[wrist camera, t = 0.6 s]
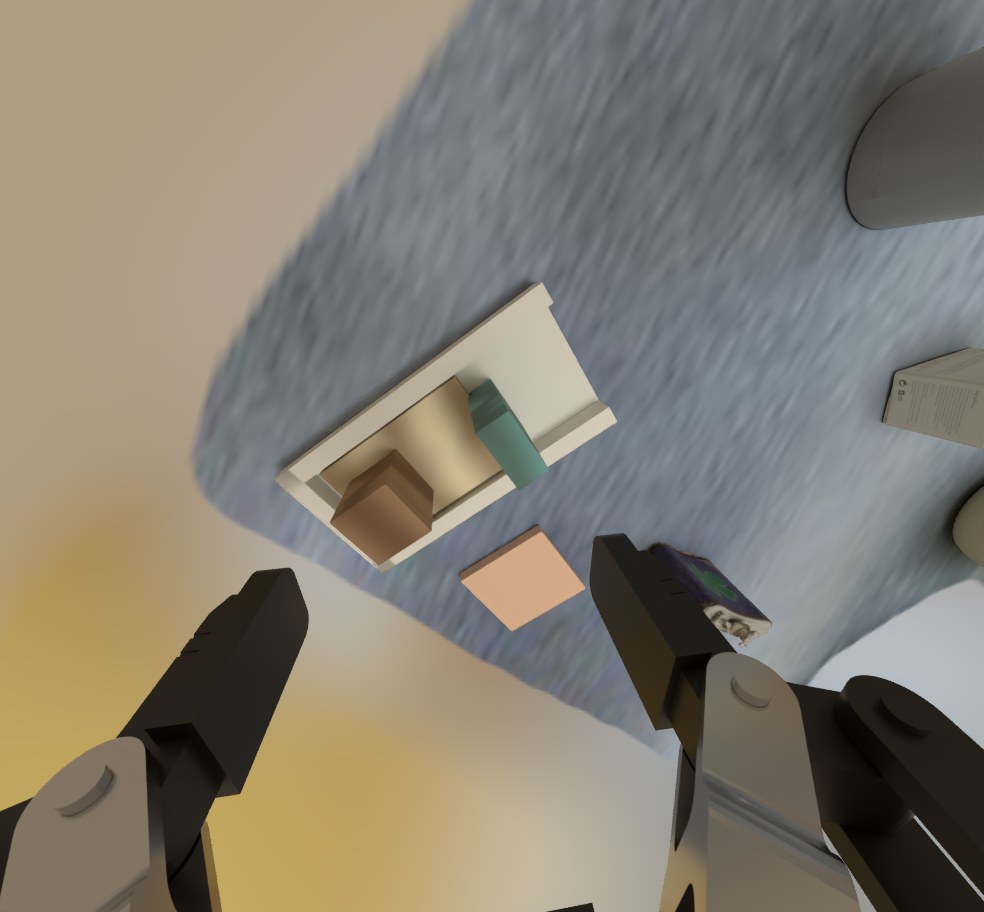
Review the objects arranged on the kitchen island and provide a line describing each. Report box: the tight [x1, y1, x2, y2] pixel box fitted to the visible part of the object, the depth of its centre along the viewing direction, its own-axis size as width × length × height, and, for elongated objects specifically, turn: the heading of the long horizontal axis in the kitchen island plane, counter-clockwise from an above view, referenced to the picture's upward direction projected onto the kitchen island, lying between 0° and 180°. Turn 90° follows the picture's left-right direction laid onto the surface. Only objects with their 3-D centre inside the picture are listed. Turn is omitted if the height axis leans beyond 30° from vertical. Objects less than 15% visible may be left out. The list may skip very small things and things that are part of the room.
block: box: [330, 449, 434, 566], centre depth 28 cm, size 5×5×6 cm
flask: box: [648, 542, 772, 648], centre depth 36 cm, size 9×3×11 cm, turn 64°
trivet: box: [460, 524, 586, 631], centre depth 39 cm, size 10×10×1 cm
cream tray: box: [274, 282, 617, 574], centre depth 30 cm, size 26×13×2 cm, turn 124°
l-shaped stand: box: [319, 374, 550, 515], centre depth 27 cm, size 16×9×9 cm, turn 124°
